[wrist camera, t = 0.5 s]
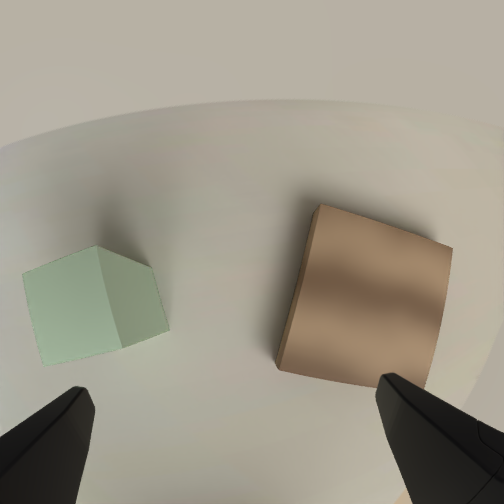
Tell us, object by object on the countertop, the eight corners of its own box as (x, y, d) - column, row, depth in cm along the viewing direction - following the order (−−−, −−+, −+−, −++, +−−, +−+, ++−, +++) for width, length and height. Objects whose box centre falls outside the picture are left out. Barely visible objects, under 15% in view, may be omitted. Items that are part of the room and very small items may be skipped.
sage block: (170, 330, 23) (122, 348, 13) (113, 345, 22) (43, 366, 13) (151, 267, 24) (95, 245, 14) (97, 285, 23) (22, 273, 13)
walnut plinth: (407, 386, 23) (422, 393, 20) (274, 363, 23) (278, 370, 20) (436, 252, 25) (452, 248, 22) (313, 213, 25) (321, 203, 22)
